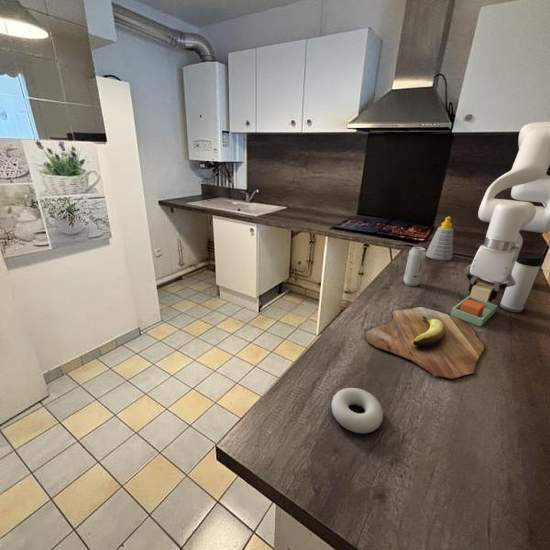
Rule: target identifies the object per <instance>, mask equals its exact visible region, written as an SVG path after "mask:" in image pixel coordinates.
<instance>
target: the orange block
mask: <svg viewBox="0 0 550 550" xmlns="http://www.w3.org/2000/svg"><path fill="white" fill-rule="evenodd" d="M484 307H485V305H484V304H481V303H478V302H475V301H472V300H469V299H468V300H466V301H465V302H464V303H462V305H461V308H460V311H463V312H466V313H469V314H471V315H474V316H477V317H480V316H482V313H483V310H484Z"/></svg>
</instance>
